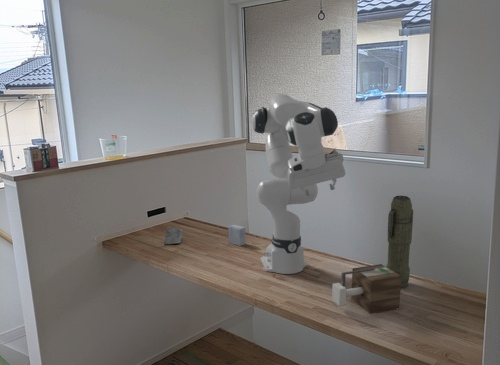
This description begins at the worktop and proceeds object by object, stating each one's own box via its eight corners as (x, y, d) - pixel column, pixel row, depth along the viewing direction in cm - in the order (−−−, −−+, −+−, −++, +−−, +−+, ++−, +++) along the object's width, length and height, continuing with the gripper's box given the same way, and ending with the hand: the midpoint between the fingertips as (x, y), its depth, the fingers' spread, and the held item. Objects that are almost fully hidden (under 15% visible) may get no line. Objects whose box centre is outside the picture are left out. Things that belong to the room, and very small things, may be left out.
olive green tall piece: (415, 283, 189) (421, 196, 182) (397, 291, 182) (402, 201, 175) (396, 276, 196) (401, 192, 189) (378, 284, 188) (382, 197, 181)
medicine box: (245, 244, 236) (245, 227, 235) (239, 246, 233) (239, 229, 231) (234, 241, 242) (234, 224, 240) (228, 243, 238) (227, 226, 237)
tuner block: (351, 299, 175) (352, 267, 173) (379, 294, 179) (381, 263, 177) (369, 313, 164) (371, 280, 162) (399, 308, 168) (401, 275, 166)
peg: (332, 299, 168) (332, 271, 166) (371, 293, 173) (372, 265, 171) (339, 305, 164) (340, 276, 162) (379, 298, 169) (381, 270, 167)
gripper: (340, 147, 170) (346, 181, 176) (283, 161, 171) (291, 194, 177) (344, 155, 164) (350, 189, 170) (285, 169, 165) (293, 203, 172)
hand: (319, 192), depth 174 cm, fingers open, 8 cm apart
